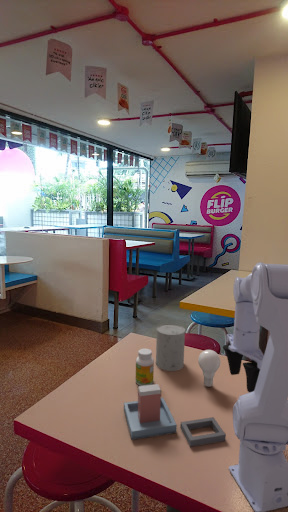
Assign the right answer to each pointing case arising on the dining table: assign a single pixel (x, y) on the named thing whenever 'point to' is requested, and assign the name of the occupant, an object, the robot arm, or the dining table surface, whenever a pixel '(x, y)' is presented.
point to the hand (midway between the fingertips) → (242, 382)
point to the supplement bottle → (144, 367)
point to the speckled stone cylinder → (170, 347)
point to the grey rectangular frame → (202, 439)
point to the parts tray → (149, 428)
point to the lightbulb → (209, 365)
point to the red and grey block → (149, 403)
